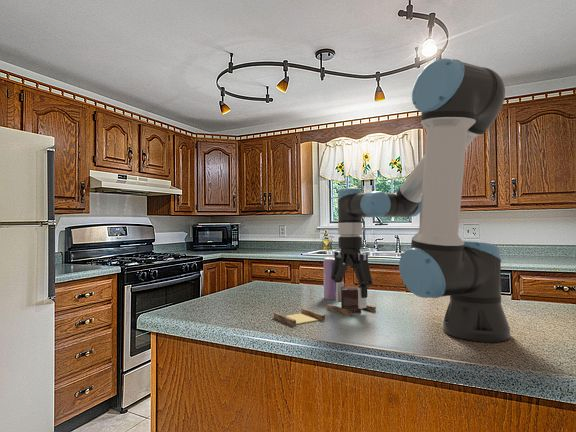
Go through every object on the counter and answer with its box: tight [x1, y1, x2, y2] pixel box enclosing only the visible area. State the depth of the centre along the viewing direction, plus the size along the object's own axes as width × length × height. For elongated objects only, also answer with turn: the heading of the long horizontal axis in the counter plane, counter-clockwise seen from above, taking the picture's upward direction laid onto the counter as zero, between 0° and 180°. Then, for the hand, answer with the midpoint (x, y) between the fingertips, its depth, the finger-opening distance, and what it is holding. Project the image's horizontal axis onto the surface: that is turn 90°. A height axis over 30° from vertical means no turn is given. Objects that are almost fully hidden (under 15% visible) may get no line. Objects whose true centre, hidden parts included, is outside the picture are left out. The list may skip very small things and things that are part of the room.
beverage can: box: [323, 257, 336, 300], centre depth 139 cm, size 6×6×15 cm
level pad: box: [286, 312, 319, 326], centre depth 109 cm, size 9×8×1 cm
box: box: [340, 286, 362, 313], centre depth 119 cm, size 6×6×7 cm
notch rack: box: [273, 303, 377, 327], centre depth 114 cm, size 11×31×2 cm, turn 121°
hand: (350, 304), depth 119 cm, fingers open, 10 cm apart
